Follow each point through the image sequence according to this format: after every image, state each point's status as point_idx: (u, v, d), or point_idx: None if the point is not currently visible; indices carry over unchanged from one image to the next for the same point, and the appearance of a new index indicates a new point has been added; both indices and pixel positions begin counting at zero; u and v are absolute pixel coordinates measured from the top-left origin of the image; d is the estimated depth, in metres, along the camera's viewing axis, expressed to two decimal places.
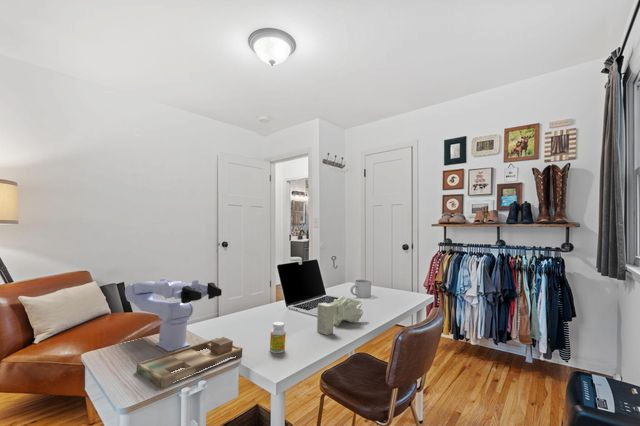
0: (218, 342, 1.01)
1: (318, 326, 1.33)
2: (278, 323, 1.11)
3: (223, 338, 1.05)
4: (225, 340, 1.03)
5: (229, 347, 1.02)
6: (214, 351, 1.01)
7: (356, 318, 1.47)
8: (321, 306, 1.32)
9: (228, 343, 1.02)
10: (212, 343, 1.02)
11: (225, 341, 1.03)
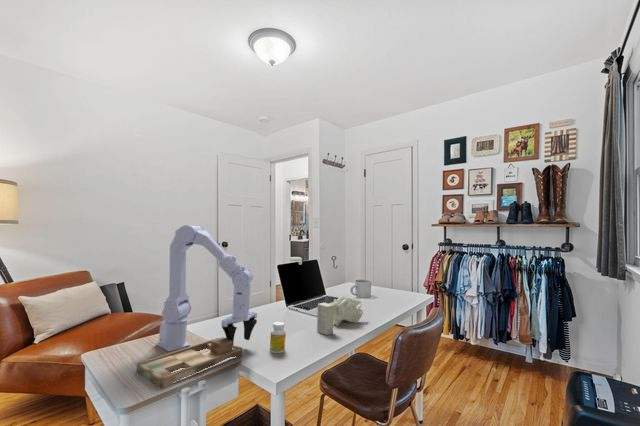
0: (218, 342, 1.01)
1: (318, 326, 1.33)
2: (278, 323, 1.11)
3: (223, 338, 1.05)
4: (225, 340, 1.03)
5: (229, 347, 1.02)
6: (214, 351, 1.01)
7: (356, 317, 1.47)
8: (321, 306, 1.32)
9: (228, 343, 1.02)
10: (212, 343, 1.02)
11: (225, 341, 1.03)
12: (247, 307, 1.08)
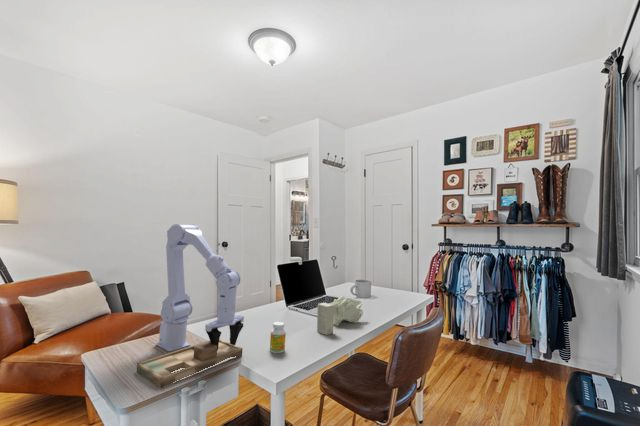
0: (201, 348, 0.96)
1: (318, 326, 1.33)
2: (278, 323, 1.11)
3: (207, 343, 1.00)
4: (209, 345, 0.98)
5: (213, 353, 0.97)
6: (197, 357, 0.96)
7: (356, 318, 1.47)
8: (321, 306, 1.32)
9: (212, 348, 0.97)
10: (195, 349, 0.97)
11: (209, 346, 0.98)
12: (233, 310, 1.03)
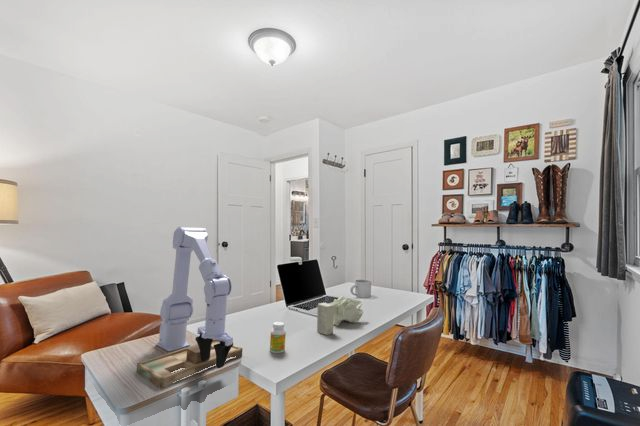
0: (194, 350, 0.94)
1: (318, 326, 1.33)
2: (278, 323, 1.11)
3: None
4: None
5: None
6: (190, 360, 0.94)
7: (356, 318, 1.47)
8: (321, 306, 1.32)
9: None
10: (188, 351, 0.95)
11: None
12: (208, 323, 0.90)
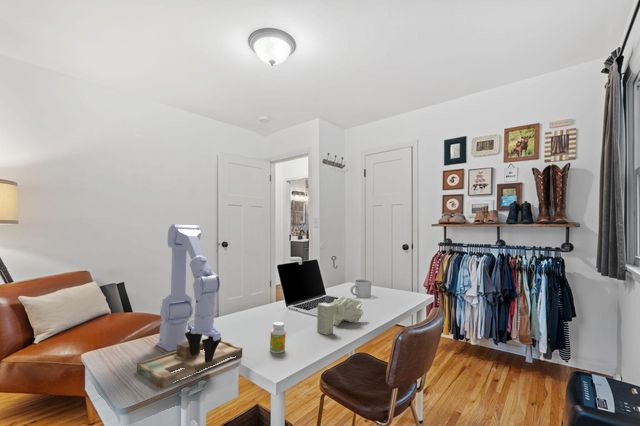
0: (184, 345, 0.97)
1: (318, 326, 1.33)
2: (278, 323, 1.11)
3: None
4: None
5: None
6: (180, 354, 0.97)
7: (356, 318, 1.47)
8: (321, 306, 1.32)
9: None
10: (178, 346, 0.98)
11: None
12: (197, 318, 0.93)
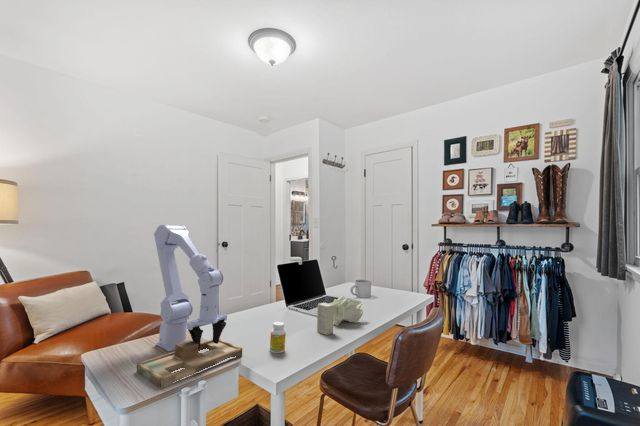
0: (182, 346, 0.97)
1: (318, 326, 1.33)
2: (278, 323, 1.11)
3: (189, 341, 1.01)
4: (191, 343, 0.99)
5: (194, 351, 0.98)
6: (178, 355, 0.96)
7: (356, 318, 1.47)
8: (321, 306, 1.32)
9: (193, 346, 0.98)
10: (176, 347, 0.97)
11: (190, 344, 0.98)
12: (215, 309, 1.04)
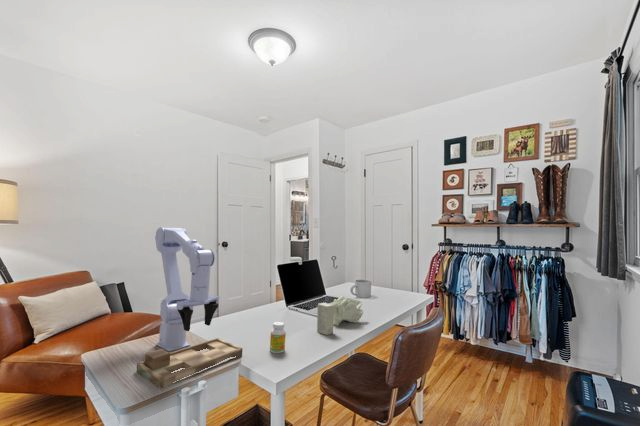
0: (152, 355, 0.89)
1: (318, 326, 1.33)
2: (278, 323, 1.11)
3: (160, 350, 0.93)
4: (162, 352, 0.91)
5: (165, 360, 0.90)
6: (147, 365, 0.89)
7: (356, 317, 1.47)
8: (321, 306, 1.32)
9: (164, 356, 0.90)
10: (146, 356, 0.90)
11: (161, 353, 0.91)
12: (206, 289, 1.00)
